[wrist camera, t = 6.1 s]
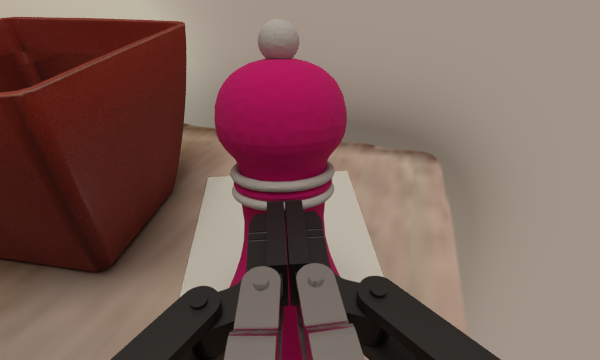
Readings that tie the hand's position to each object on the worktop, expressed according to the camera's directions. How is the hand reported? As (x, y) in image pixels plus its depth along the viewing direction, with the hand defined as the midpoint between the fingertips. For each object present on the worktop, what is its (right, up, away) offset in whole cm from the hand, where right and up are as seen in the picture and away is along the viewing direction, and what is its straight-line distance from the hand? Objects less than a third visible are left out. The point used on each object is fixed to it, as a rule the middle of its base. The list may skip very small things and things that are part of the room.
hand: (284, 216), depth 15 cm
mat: (-1, -3, +18) cm, 19 cm away
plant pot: (-20, -2, +20) cm, 29 cm away
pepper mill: (0, -11, +7) cm, 13 cm away
